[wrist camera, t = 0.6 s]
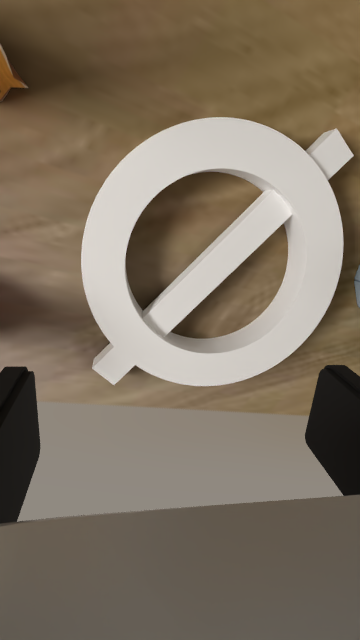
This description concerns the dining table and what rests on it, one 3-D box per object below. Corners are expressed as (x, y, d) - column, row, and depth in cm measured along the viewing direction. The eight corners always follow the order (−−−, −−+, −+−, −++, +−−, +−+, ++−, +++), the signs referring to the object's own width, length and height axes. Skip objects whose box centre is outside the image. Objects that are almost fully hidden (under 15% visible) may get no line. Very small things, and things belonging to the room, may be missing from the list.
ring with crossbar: (94, 372, 43) (91, 392, 38) (76, 120, 33) (69, 108, 29) (302, 362, 47) (320, 379, 42) (338, 134, 37) (367, 125, 33)
